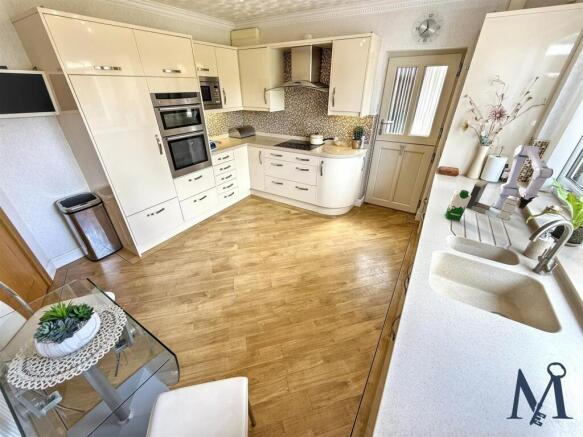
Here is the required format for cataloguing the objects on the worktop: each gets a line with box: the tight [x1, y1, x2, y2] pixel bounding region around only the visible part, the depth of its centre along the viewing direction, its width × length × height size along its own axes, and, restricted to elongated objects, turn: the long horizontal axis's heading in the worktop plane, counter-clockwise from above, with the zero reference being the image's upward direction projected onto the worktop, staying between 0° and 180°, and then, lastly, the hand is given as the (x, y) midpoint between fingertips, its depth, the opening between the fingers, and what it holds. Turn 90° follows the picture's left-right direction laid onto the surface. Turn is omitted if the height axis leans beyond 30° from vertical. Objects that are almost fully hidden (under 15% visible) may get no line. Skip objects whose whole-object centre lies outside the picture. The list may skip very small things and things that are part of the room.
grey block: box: [466, 179, 492, 214], centre depth 165 cm, size 14×12×18 cm
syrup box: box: [497, 196, 521, 221], centre depth 155 cm, size 6×6×14 cm
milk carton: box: [445, 189, 471, 222], centre depth 150 cm, size 9×9×20 cm
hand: (522, 206), depth 150 cm, fingers open, 7 cm apart
